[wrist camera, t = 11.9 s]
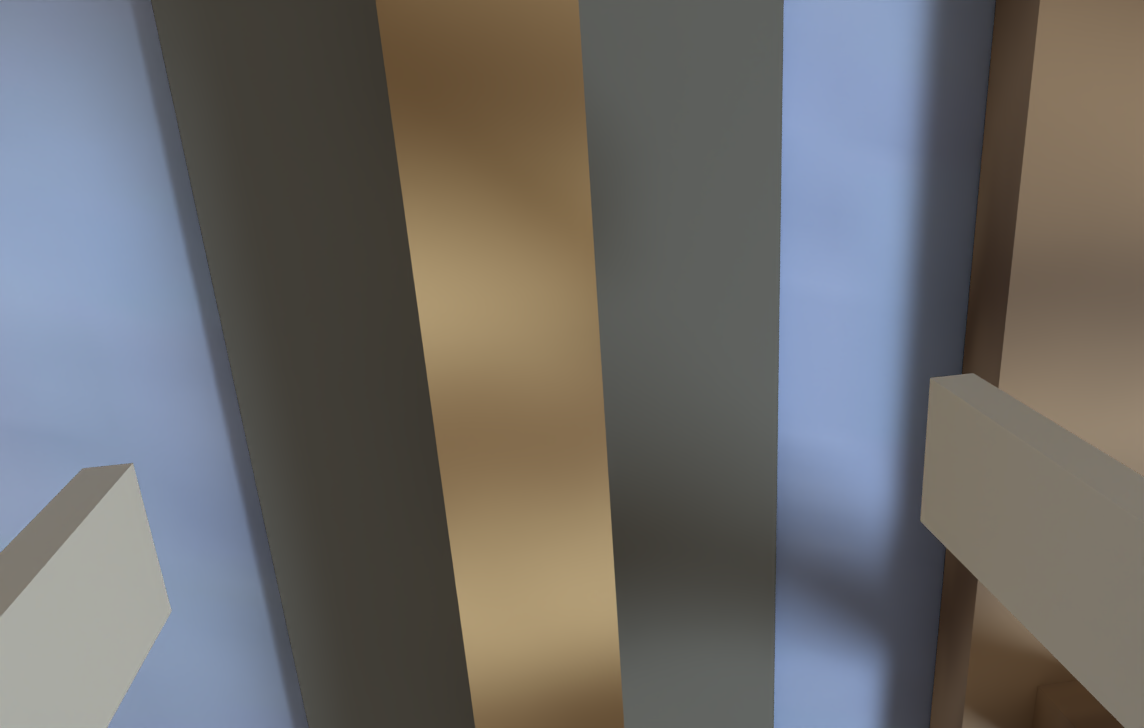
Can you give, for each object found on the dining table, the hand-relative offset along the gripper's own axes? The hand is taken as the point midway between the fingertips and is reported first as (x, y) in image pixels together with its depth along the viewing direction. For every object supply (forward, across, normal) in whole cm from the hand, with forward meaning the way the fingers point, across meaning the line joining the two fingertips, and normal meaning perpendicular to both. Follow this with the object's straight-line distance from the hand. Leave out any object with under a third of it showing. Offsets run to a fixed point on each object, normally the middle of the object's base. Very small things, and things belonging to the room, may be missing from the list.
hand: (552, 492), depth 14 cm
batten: (+5, 0, 0) cm, 5 cm away
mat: (+6, 0, 0) cm, 6 cm away
